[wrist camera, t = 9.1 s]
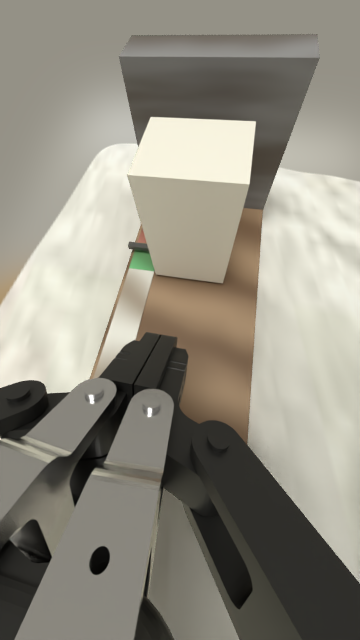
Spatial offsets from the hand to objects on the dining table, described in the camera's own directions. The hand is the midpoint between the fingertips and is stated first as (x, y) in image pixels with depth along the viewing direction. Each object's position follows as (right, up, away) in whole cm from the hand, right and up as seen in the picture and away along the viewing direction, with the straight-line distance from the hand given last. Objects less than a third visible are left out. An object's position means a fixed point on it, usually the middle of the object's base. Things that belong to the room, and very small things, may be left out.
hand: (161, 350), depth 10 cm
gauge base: (+2, +5, +10) cm, 11 cm away
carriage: (+1, +9, +9) cm, 13 cm away
